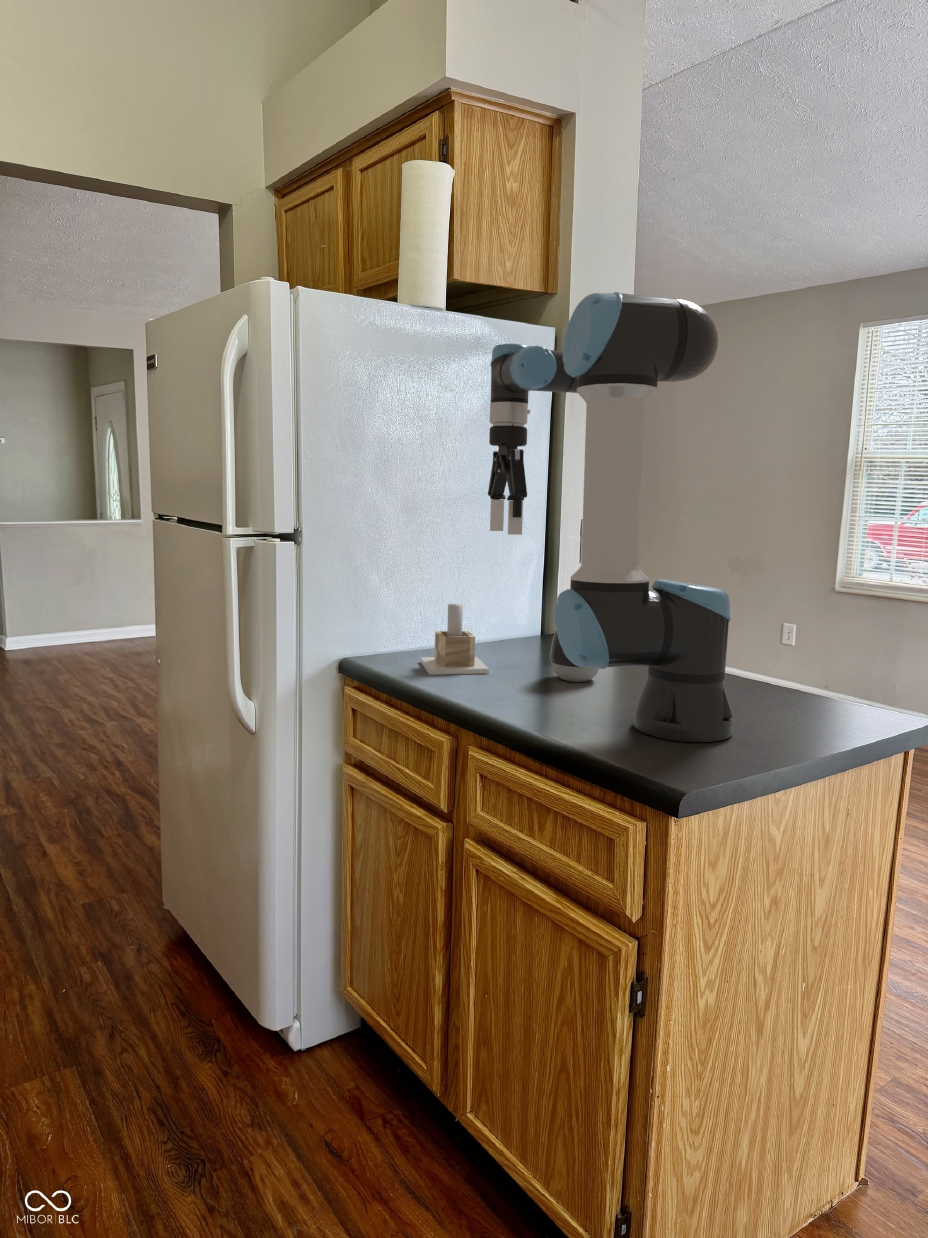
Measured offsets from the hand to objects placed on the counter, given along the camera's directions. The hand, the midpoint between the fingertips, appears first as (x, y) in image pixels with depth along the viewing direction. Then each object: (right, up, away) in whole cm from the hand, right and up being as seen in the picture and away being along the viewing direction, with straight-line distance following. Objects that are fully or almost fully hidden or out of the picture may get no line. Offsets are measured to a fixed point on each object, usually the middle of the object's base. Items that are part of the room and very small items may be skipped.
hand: (505, 532), depth 179 cm
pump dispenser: (+13, -29, -6) cm, 33 cm away
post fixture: (-10, -27, +2) cm, 29 cm away
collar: (-10, -26, +1) cm, 28 cm away
